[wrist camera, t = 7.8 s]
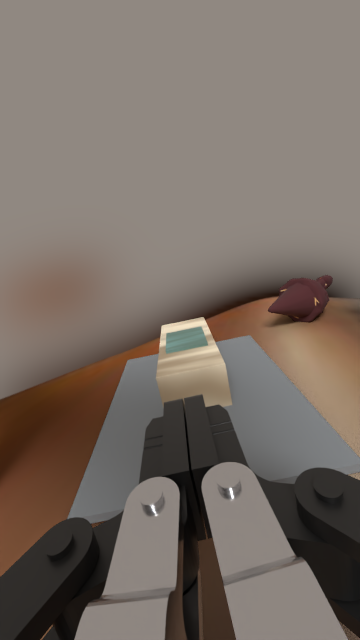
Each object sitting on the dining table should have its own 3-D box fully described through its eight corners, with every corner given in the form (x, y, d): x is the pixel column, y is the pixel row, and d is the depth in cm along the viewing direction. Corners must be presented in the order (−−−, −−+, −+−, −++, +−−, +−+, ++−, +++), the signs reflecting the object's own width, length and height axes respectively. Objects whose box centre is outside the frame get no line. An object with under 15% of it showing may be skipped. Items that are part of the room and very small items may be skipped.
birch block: (224, 360, 23) (203, 315, 38) (155, 374, 23) (161, 323, 38) (232, 404, 24) (208, 343, 39) (166, 418, 24) (167, 351, 40)
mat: (364, 471, 16) (363, 462, 16) (69, 527, 16) (66, 520, 16) (250, 339, 39) (249, 335, 39) (128, 363, 40) (127, 360, 40)
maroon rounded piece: (298, 293, 33) (356, 276, 41) (252, 279, 39) (311, 266, 47) (288, 342, 36) (344, 317, 44) (246, 323, 42) (303, 304, 50)
